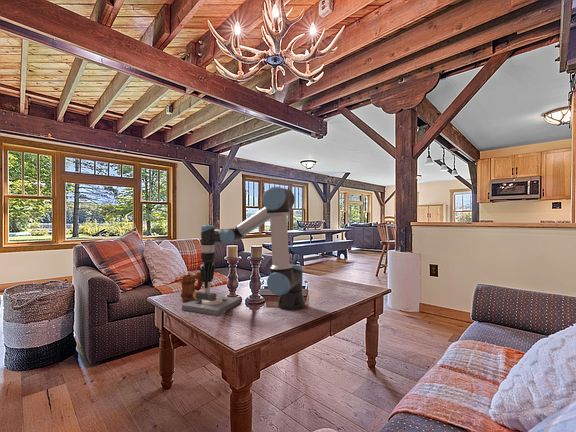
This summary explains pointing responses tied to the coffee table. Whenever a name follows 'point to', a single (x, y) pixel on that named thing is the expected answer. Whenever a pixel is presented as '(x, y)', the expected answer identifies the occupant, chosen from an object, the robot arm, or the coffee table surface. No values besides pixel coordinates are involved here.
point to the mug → (190, 285)
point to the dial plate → (198, 307)
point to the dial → (208, 298)
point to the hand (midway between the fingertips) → (207, 293)
